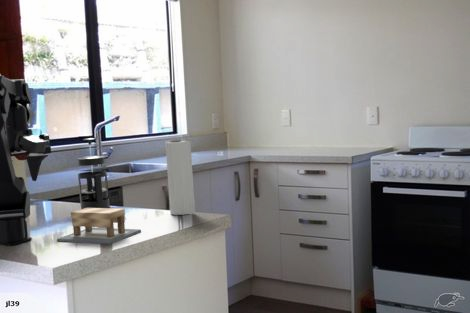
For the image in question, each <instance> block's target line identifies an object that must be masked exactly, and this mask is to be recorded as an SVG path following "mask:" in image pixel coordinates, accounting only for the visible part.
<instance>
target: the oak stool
mask: <svg viewBox="0 0 470 313" xmlns="http://www.w3.org/2000/svg"><path fill="white" fill-rule="evenodd" d="M125 212H126V211H125V208H113V207H112V208H111V207H110V208H84V209H81V208H80V209H76V210H74V211H70V217H71V224H72V227H73V233H74V236H79V235H81V231H82V230H81V227H84V230H85V232H90V231H92V227H94V228H107V237H109V238H112V237H114V228H115V227H114V224H115V223H116V224H117V229H118V233H125V229H126V227H125V224H126V220H125V214H126V213H125Z"/></svg>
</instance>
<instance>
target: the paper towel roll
mask: <svg viewBox="0 0 470 313" xmlns="http://www.w3.org/2000/svg"><path fill="white" fill-rule="evenodd" d="M164 143H165V155H166V172H167V184H168V197H169V198H168V199H169V212H170V214H171V215H174V216H178V215H179V216H181V215H192V214H196V207H195V206H196V203H195V193H194V192H195V190H194V176H193V174H194V173H193V164H192V162H193V161H192V159H193V158H192V146H191V141H190V140H189V141H188V140H170V141H165V142H164Z"/></svg>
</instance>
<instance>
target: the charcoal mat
mask: <svg viewBox="0 0 470 313" xmlns="http://www.w3.org/2000/svg"><path fill="white" fill-rule="evenodd" d="M139 233H142V230H141V229H135V228H133V229H132V228H131V229H130V228H125V233H118V228H117V227H114V237H112V238H109V237H107V228H106V227H92V231H90V232H85V229H82V230H81V235H79V236H74V232H73V233H70V234H67V235H64V236H61V237H58V238H56V242H64V241H69V242H68V243H81V242H85V243H86V244H97V243H99V244H101V245H111V244H113V243H117V242H119V241H122V240H123V239H126V238H129V237H131V236H134V235H137V234H139Z"/></svg>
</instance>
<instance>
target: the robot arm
mask: <svg viewBox="0 0 470 313" xmlns="http://www.w3.org/2000/svg"><path fill="white" fill-rule="evenodd" d="M31 95H32V94H31V91H30V88H29V84H28V82H26V80H25V79H24V78H20V79H19V78H17V79H15V78H13V79H10V78H8V77H5V76H4V75H1V74H0V245H1V246H15V245H18V244H22V243H25V242H29V241H31V240H32V239H33V238H32V237H29V235H28V234H29V233H28V223H27V220H26V219H27V218H28V217H30V215H31V197H30V195H31V194H30V191H28V190H27V187H26V182H25V178H23V177H22V176H19V177H18V176H17V175H16V172H15V168H14V164H13V159H12V157H15V156H22V155H26V156H25V159H26V163H27V165H28V166H27V167H28V171H29V174H30V177H31V180H32V182H36V181H37V180H38V176H39V172H40V168H41V165H42V162H43V161H44V160H45V158H48V156H49V154H52V147H51V145H50V143H51V138H50V135H49V134H47V133H40V134H39V135H34V134H33V129H31V128H28V127H29V126H28V125H29V124H31V123H32V122H33V121H34V119H35V112H34V110H33V109H32V107H31V106H29V105H30V104H31V105H32V104H33V100H32V96H31Z"/></svg>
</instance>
